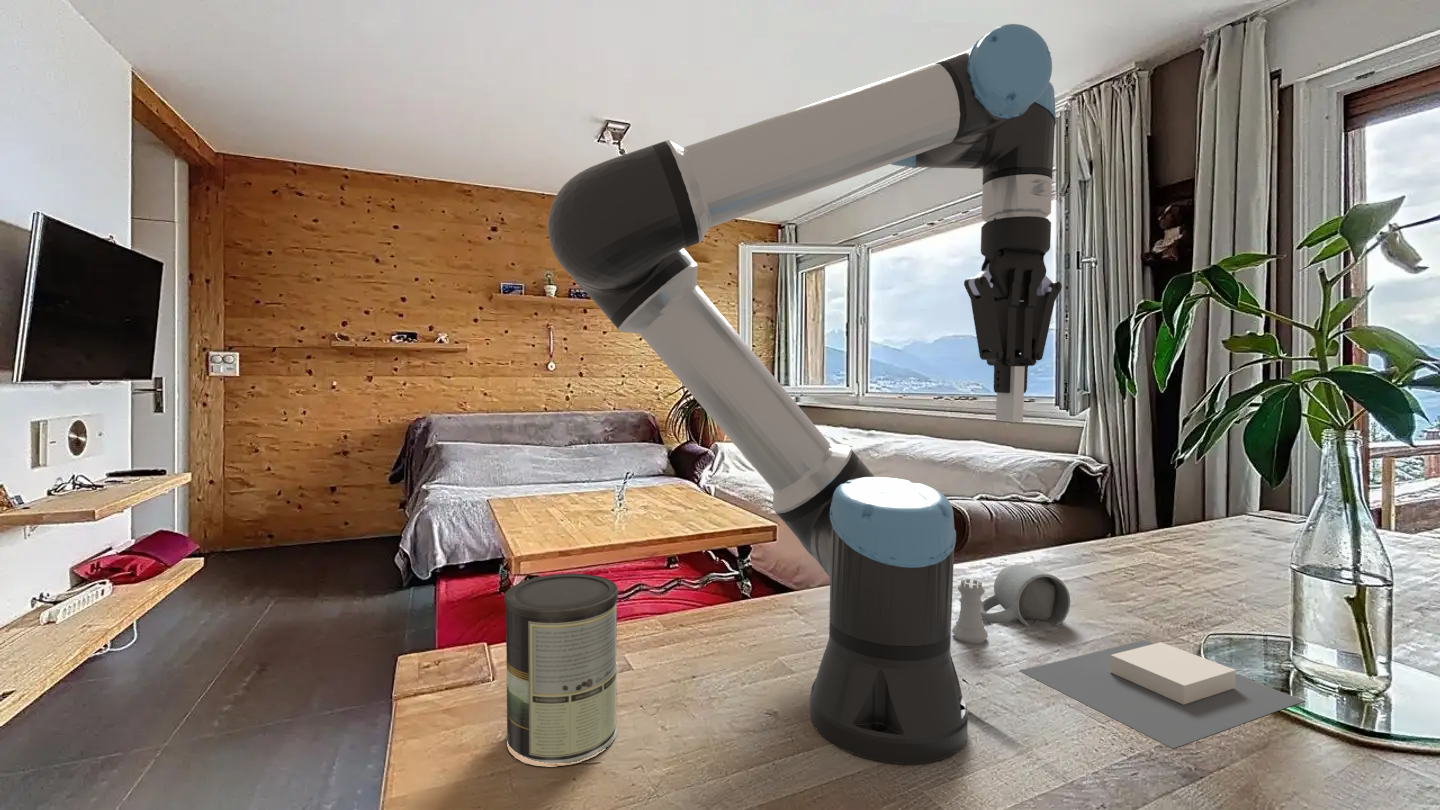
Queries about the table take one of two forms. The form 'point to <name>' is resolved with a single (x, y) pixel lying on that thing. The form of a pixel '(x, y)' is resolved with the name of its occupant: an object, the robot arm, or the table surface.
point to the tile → (1173, 672)
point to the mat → (1157, 699)
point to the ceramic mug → (1027, 596)
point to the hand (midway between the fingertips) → (1009, 420)
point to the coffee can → (561, 666)
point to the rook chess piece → (970, 614)
